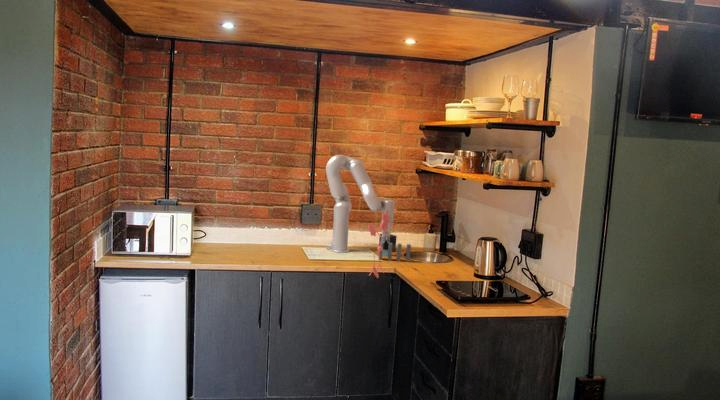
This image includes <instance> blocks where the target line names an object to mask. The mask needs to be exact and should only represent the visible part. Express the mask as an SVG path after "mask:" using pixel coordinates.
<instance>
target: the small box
mask: <svg viewBox="0 0 720 400" xmlns="http://www.w3.org/2000/svg"><path fill="white" fill-rule="evenodd" d="M379 234H380V235H381V236H382V233H379ZM378 238H379V239H378V241H379V243H378V245H379V244H380V242H381V237H380V236H379V237H378ZM382 239H384V238H382ZM389 239H390V243H392V253H395V252H396V251H397V239H398V238H397V235H396V234H391V233H390V238H389ZM396 253H397V252H396Z"/></svg>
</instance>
